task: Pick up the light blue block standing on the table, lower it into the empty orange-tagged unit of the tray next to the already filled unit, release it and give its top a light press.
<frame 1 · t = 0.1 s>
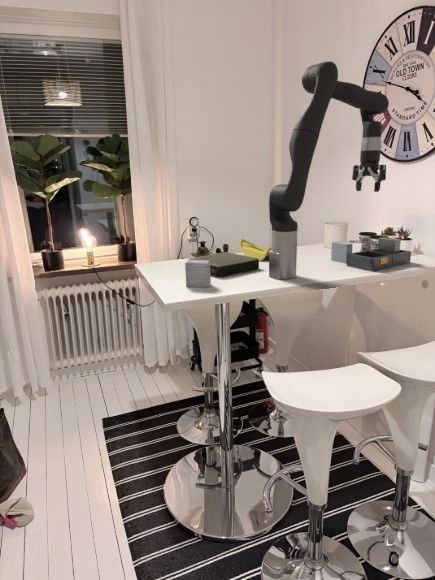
hand: (367, 191, 173), 29 cm above the table, tool pointing down, fingers open, 8 cm apart
network switch: (223, 270, 172), on the table
light blue block: (341, 261, 181), on the table
plastic component: (258, 257, 195), on the table
tray: (378, 264, 174), on the table
medicine box: (198, 286, 148), on the table
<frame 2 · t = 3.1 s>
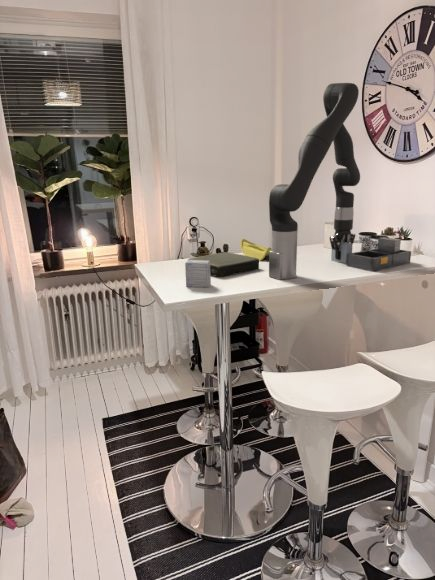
hand: (341, 258, 181), 1 cm above the table, tool pointing down, fingers closed on light blue block, 3 cm apart
light blue block: (341, 261, 181), on the table, touching gripper
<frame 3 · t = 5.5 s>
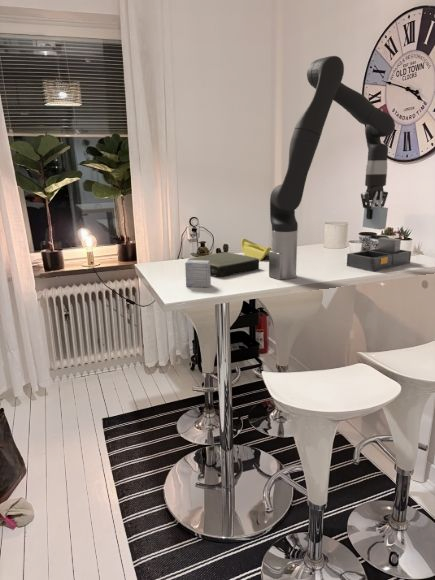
hand: (372, 218, 166), 19 cm above the table, tool pointing down, fingers closed on light blue block, 3 cm apart
light blue block: (373, 227, 166), point 16 cm above the table, touching gripper
when the fingers open (4 cm above the table, at t = 8.0 s): light blue block stays where it is, resting on tray.
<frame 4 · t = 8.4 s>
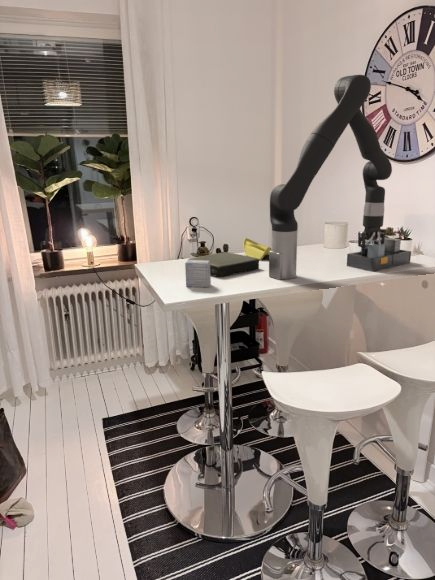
hand: (370, 256, 170), 4 cm above the table, tool pointing down, fingers open, 6 cm apart
light blue block: (371, 264, 170), point 1 cm above the table, touching tray
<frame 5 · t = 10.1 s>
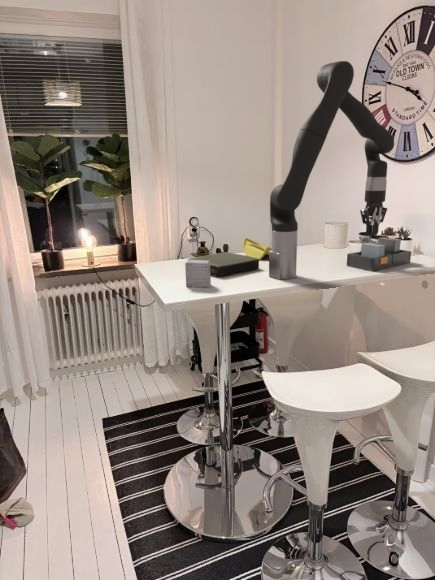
hand: (372, 233, 167), 13 cm above the table, tool pointing down, fingers open, 3 cm apart
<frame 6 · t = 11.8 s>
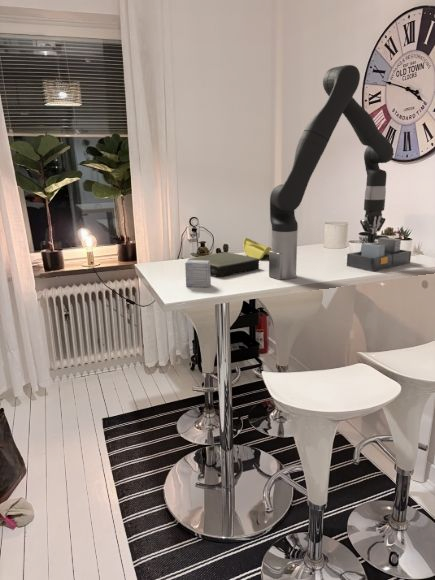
hand: (371, 242, 168), 10 cm above the table, tool pointing down, fingers closed
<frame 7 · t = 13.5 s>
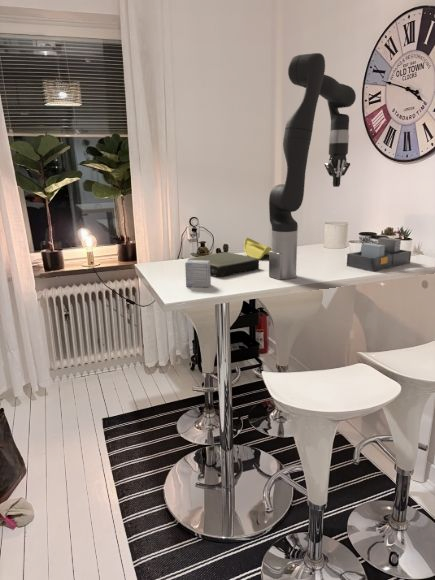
hand: (336, 186, 176), 31 cm above the table, tool pointing down, fingers closed
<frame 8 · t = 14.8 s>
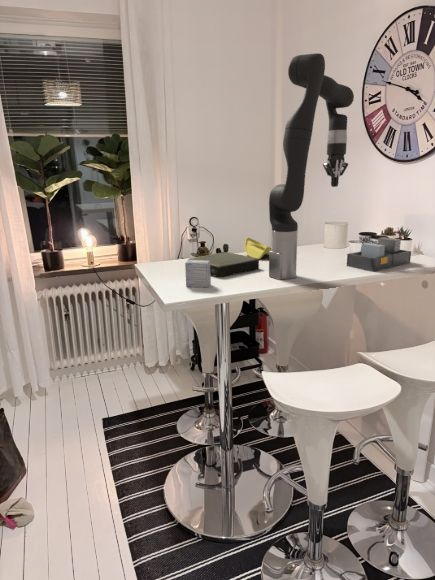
hand: (334, 186, 176), 31 cm above the table, tool pointing down, fingers closed
at the end: light blue block inside the target area on the tray (1.0 cm from its centre), point 1.0 cm above the tray's base; light blue block tilted 0°; the gripper is holding nothing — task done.
